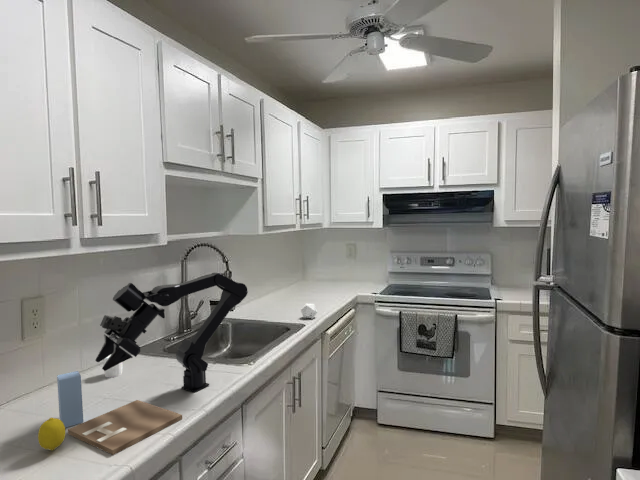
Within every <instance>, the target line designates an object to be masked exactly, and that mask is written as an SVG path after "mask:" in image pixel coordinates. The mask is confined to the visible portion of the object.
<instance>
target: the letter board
mask: <svg viewBox="0 0 640 480" xmlns="http://www.w3.org/2000/svg"><path fill="white" fill-rule="evenodd" d="M181 420H183V414H181V413H178V412H175V411H172V410H169V409H166V408H162V407H160V406H157V405H155V404H152V403H151V404H150V403H147V402H145V401H143V400H140V399H139V400H138V399H136V400H134V401H132V402H129V403H127V404H124V405H122V406H120V407H117V408H115V409H113V410H111V411H108V412H105V413H103V414H101V415H98V416H96V417H93V418H91V419H88V420H86V421H83V423H80V424H76V425H73V426H71V427H69V428H68V429H67V434H68V435H69V436H72V437H74V438H76V439H78V440H80V441H82V442H84V443H86V444H89V445H91V446H93V447H95V448H97V449H99V450H101V451H103V452H106V453H108V454H109V455H112V456H114V455H116V454H118V453H120V452H122V451H124V450H126V449H128V448H130V447H131V446H134V445H135V444H138V443H139V442H141V441H143V440H145V439H147V438H149V437H151V436H152V435H154V434H156V433H158V432H160V431H162V430H164V429H166V428H168V427H170V426H171V425H174V424H176V423H178V422H180V421H181Z"/></svg>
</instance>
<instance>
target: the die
mask: <svg viewBox="0 0 640 480" xmlns="http://www.w3.org/2000/svg"><path fill="white" fill-rule="evenodd" d="M300 312H301V314H302V317H303V319H306V318H311V319H310V320H314V318H315V316H316V315H317V313H318V310H317V308H316V305H315V303H305V304H304V305H303V306H302V307H301V309H300Z"/></svg>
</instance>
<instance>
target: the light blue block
mask: <svg viewBox="0 0 640 480" xmlns="http://www.w3.org/2000/svg"><path fill="white" fill-rule="evenodd" d="M56 380H57V382H56V384H57V398H58V399H57V400H58V413H59V414H58V415H59V420H61V421H62V422H63V424H64V426H65V429H66V428H68V427H69V428H70V427H74V426H77V425H79V424H82V423H84V407H83V406H84V405H83V390H82V376H81V373H80V372H79V371H78V370H75V371H71V372H67V373H61V374H58V375H57V376H56Z"/></svg>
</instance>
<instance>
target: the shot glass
mask: <svg viewBox="0 0 640 480" xmlns="http://www.w3.org/2000/svg"><path fill="white" fill-rule="evenodd" d="M110 356H111V355H109V356H108V357H106V358H105V359H103V360H102V367H103V366H104V364H105V363H106V362H107V360H108V359H109V357H110ZM123 363H124V361H123V362H121V363H119V364H117V365H115V366H114V367H112V368H110V369H108V370H106V371H104V370H103V372H104V377H105V378H116V377H118V376H121V375H122V374H123V366H124V365H123Z"/></svg>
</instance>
